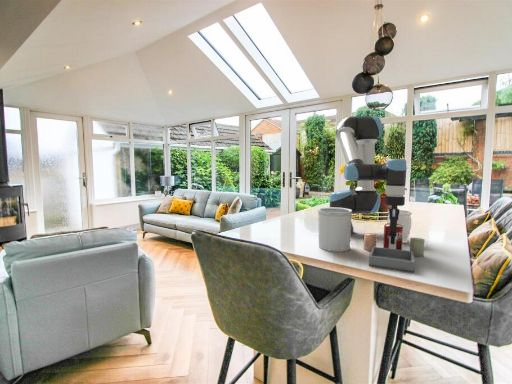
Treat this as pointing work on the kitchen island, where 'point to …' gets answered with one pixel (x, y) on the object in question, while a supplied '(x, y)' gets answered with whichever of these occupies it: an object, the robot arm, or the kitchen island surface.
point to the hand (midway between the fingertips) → (392, 248)
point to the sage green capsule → (417, 247)
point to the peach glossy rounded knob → (369, 241)
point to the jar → (404, 223)
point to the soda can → (399, 236)
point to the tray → (392, 259)
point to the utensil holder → (334, 228)
